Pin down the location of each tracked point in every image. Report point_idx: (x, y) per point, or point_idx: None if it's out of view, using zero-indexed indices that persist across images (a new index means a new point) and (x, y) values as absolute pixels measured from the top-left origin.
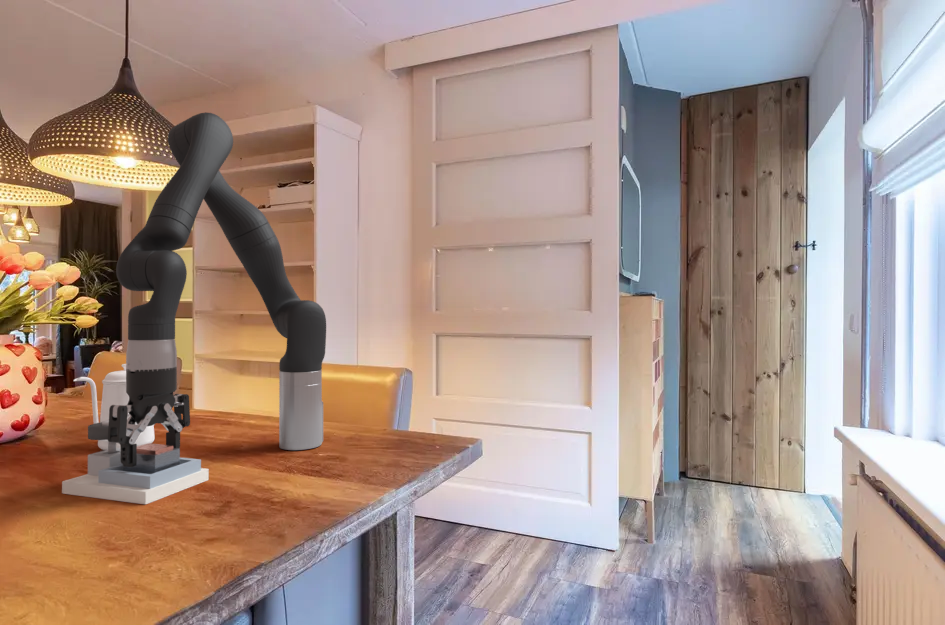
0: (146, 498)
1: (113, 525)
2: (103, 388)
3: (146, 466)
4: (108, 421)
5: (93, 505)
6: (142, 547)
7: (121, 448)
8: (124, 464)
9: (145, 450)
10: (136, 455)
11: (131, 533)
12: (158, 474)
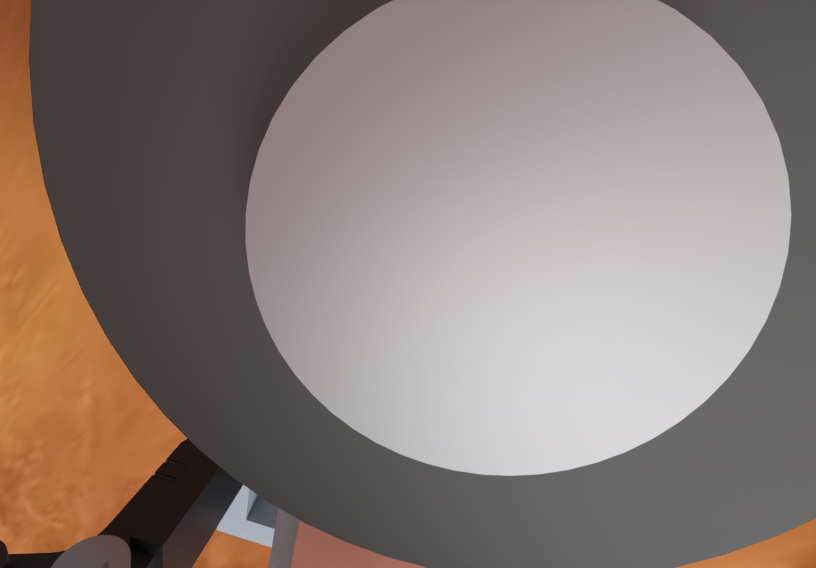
0: None
1: (84, 443)
2: None
3: None
4: (386, 238)
5: None
6: (30, 551)
7: (120, 518)
8: None
9: (293, 552)
10: (214, 529)
11: (68, 504)
12: (259, 541)
